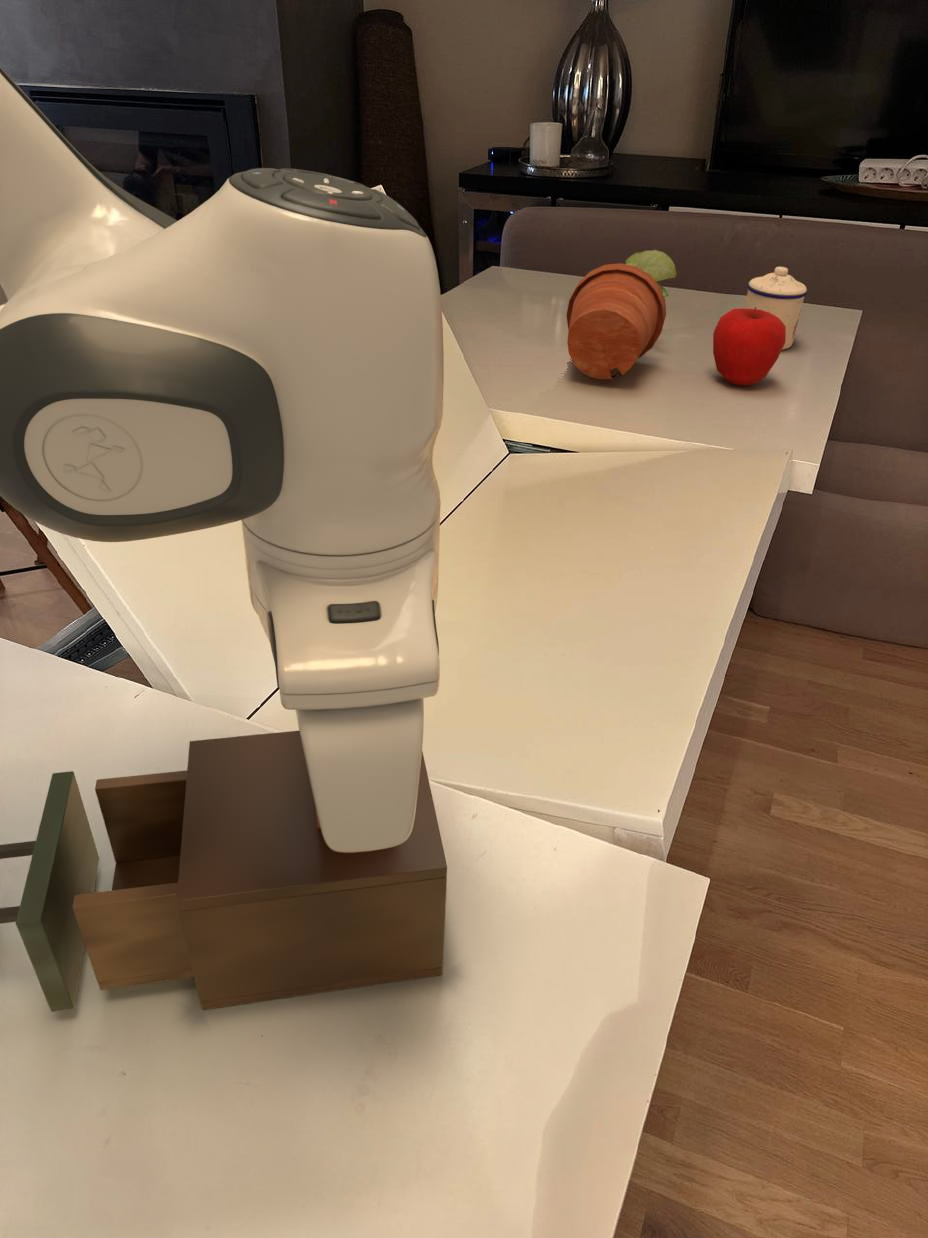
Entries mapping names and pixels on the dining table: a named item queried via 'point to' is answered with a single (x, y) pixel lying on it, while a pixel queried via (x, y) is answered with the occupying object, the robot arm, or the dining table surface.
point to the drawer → (111, 920)
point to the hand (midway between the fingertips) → (353, 773)
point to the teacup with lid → (778, 299)
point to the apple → (747, 345)
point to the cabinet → (297, 883)
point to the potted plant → (618, 314)
